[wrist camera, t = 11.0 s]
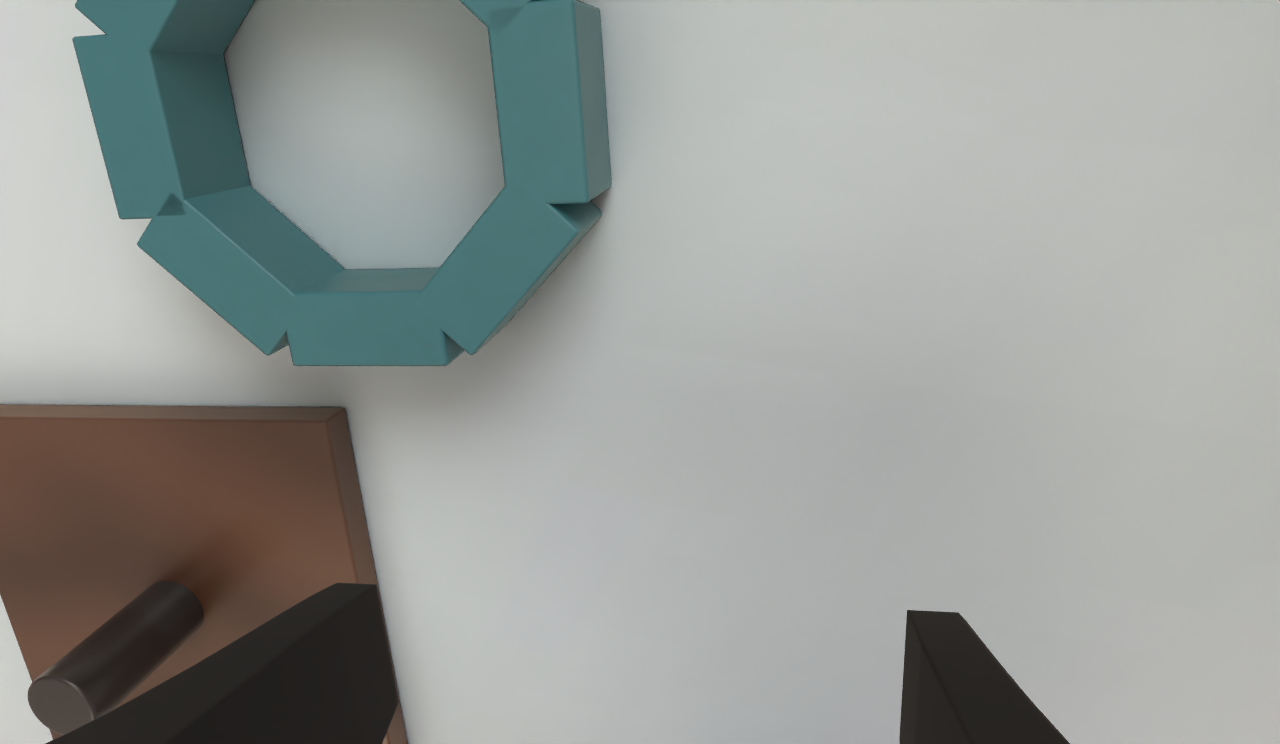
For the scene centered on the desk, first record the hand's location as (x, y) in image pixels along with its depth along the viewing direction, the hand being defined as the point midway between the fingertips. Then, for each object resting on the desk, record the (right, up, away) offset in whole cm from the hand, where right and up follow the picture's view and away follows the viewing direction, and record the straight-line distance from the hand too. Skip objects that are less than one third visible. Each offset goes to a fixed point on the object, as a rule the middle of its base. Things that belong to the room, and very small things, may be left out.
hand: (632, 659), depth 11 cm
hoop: (-6, +10, +8) cm, 14 cm away
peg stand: (-13, -3, +13) cm, 19 cm away
